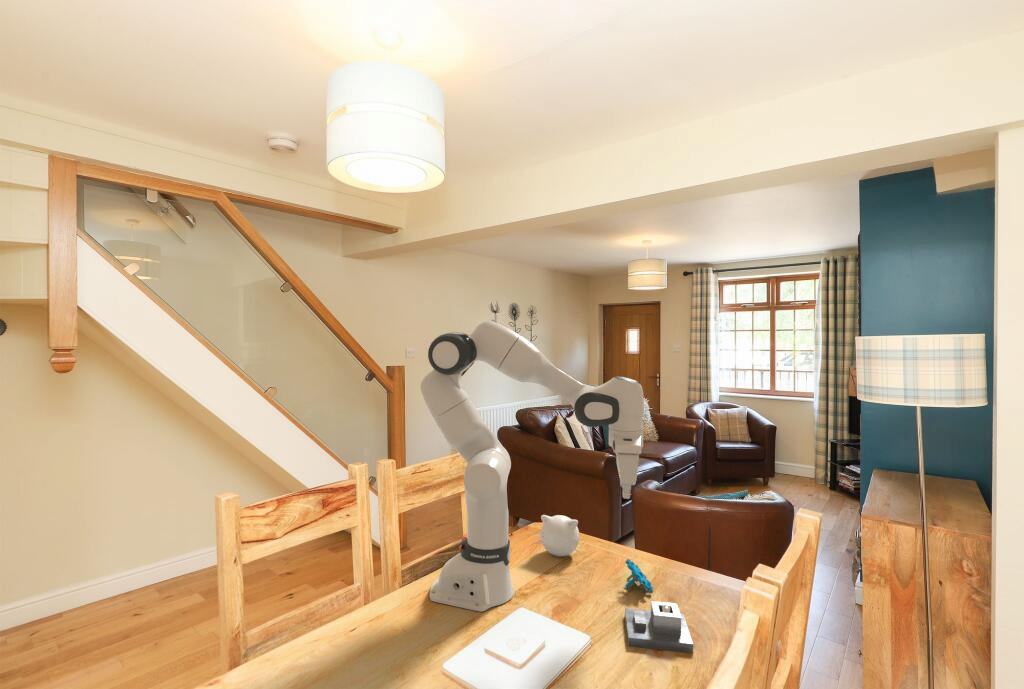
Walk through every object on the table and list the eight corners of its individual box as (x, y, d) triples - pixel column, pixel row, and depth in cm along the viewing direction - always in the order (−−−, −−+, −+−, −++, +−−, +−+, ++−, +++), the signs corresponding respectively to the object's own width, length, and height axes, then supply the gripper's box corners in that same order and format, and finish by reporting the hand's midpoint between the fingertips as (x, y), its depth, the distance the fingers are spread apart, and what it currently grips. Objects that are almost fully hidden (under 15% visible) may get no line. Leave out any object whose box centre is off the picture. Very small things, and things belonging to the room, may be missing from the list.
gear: (656, 594, 133) (629, 563, 135) (640, 608, 133) (613, 578, 135) (653, 579, 144) (628, 551, 146) (638, 593, 144) (613, 565, 146)
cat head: (587, 549, 163) (588, 512, 163) (578, 567, 151) (578, 527, 150) (543, 542, 168) (544, 506, 168) (530, 558, 156) (531, 519, 156)
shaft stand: (628, 646, 113) (628, 617, 113) (624, 616, 125) (625, 590, 125) (693, 652, 111) (693, 624, 111) (683, 621, 123) (683, 595, 123)
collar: (653, 632, 115) (654, 615, 115) (650, 617, 121) (651, 601, 121) (680, 634, 115) (681, 617, 114) (676, 619, 120) (676, 603, 120)
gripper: (611, 430, 142) (610, 479, 142) (615, 447, 121) (614, 504, 122) (634, 431, 141) (633, 480, 141) (642, 448, 120) (641, 505, 121)
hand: (624, 491), depth 131 cm, fingers open, 8 cm apart
